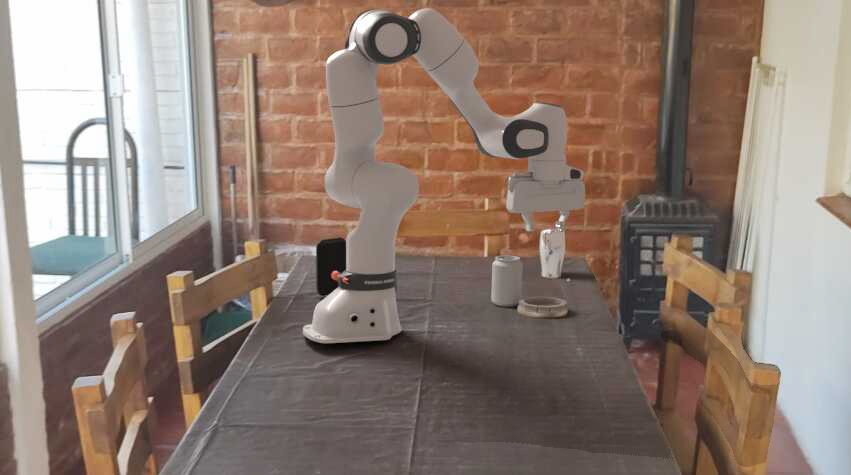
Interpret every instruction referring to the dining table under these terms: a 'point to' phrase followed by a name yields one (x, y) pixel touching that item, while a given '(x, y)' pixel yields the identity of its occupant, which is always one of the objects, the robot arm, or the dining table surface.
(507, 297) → the can
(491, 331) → the dining table surface
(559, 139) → the robot arm
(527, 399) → the dining table surface
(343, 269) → the carrying case or bag
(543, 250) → the beer glass
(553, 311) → the beige round shallow dish
